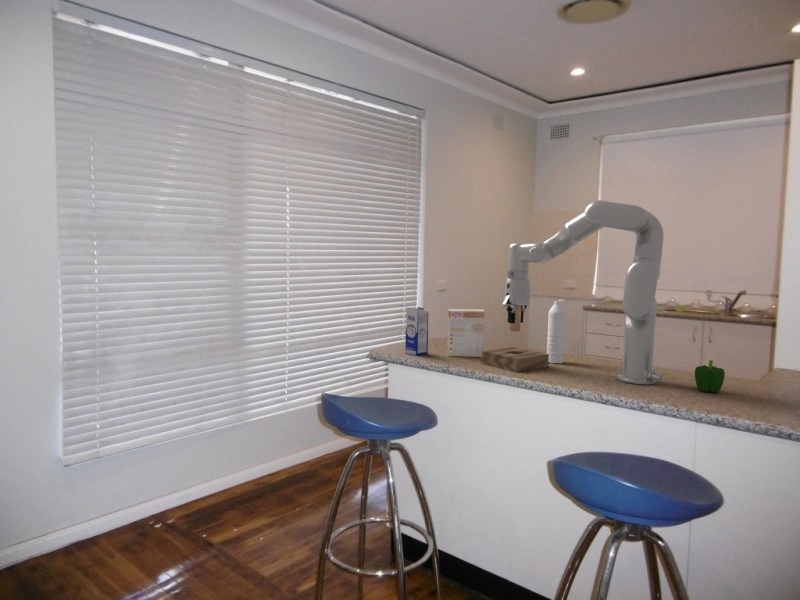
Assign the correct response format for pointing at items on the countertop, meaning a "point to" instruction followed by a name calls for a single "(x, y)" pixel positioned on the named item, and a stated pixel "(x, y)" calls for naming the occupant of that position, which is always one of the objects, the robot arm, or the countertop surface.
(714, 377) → the bell pepper
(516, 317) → the peg
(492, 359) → the socket block
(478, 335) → the coffeecake box
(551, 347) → the water bottle
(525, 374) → the countertop surface
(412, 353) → the milk carton
